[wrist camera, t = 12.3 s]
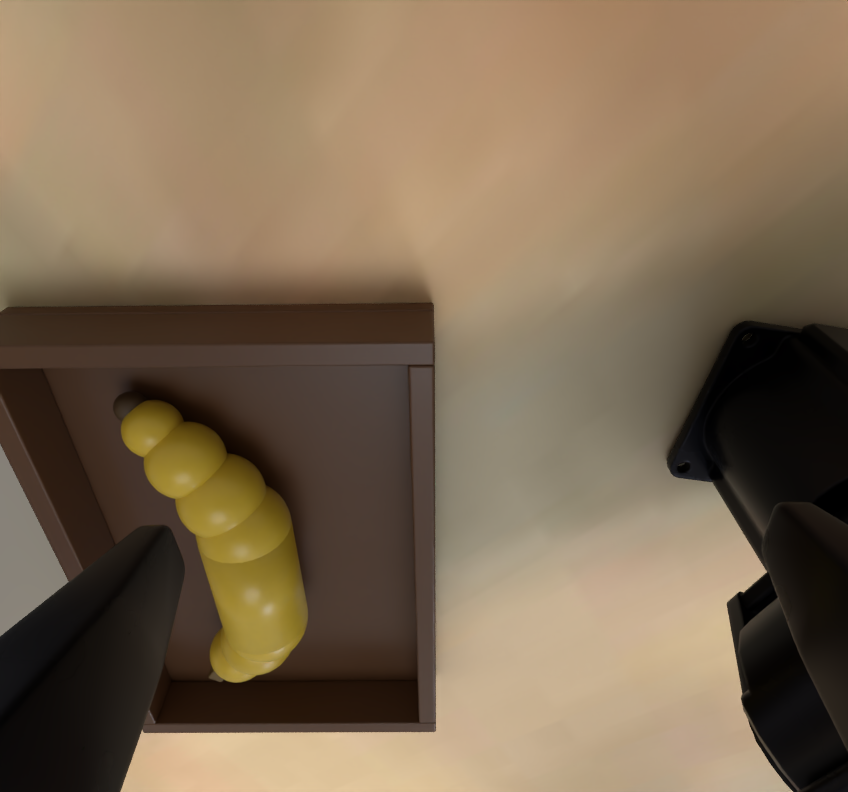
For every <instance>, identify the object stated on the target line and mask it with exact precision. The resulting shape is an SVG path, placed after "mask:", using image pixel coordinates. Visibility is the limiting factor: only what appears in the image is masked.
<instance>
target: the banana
mask: <svg viewBox="0 0 848 792" xmlns="http://www.w3.org/2000/svg"><path fill="white" fill-rule="evenodd" d="M113 412H114V414H115V416H116V417H117V418H118V419H119V420H120V421H122V424H121V436H122V439H123V441H124V443H125V445H126V446H127V447H128V449H129V450H130V451H132V452H133V453H135V454H136V455H138V456H141V457H144V470H145V474H146V476H147V478H148V480H149V482H150V483H151V485H152V486H153V487H154V488H155V489H156V490H157V491H158V492H160V493H161V494H163V495H165V496H167V497H170V498H173V499H175V505H176V509H177V513H178V515H179V518H180V520H181V521H182V523H183V524H184V525H185V526H186V528H187V529H188V530H189V531H191V532H192V533H194V534H195V535H196V542H197V546H198V549H199V552H200V555H201V559H202V562H203V565H204V568H205V572H206V575H207V578H208V581H209V584H210V588H211V591H212V594H213V597H214V601H215V604H216V607H217V610H218V613H219V617H220V620H221V623H222V626H223V627H222V628H221V629H220V630H219V631H218V633H217V634H216V635H215V637H214V639H213V641H212V643H211V647H210V662H211V665H212V666H211V669H210V672H209V675H208V678H210V679H213V680H216V681H218V682H222V681H223V680H226V681H229V682H234V683H238V682H244V681H247V680H250V679H252V678H253V677H255V676H256V675H262V674H265V673H268V672H271V671H272V670H274V669H276V668H277V667H279V666H280V665H281V664H282V663H283V662H284V661H285V660H286V658H287V657H288V655H289V654H290V652H291V651H292V650H293V649H294V648H295V647H296V646H297V644H298V643H299V642H300V640H301V639H302V637H303V635H304V633H305V629H306V626H307V623H308V607H307V602H306V596H305V591H304V585H303V580H302V574H301V569H300V564H299V558H298V553H297V547H296V542H295V536H294V531H293V525H292V520H291V515H290V512H289V509H288V507H287V505H286V503H285V501H284V500H283V498H282V497H281V496H280V495H279V494H278V493H277V492H276V491H275V490H273V489H272V488H270V487H269V486H266V484H265V481H264V479H263V476H262V474H261V473H260V471H259V470H258V469H257V468H256V466H255V465H254V464H253V463H251V462H250V461H249V460H247V459H245V458H243V457H241V456H238V455H235V454H230V453H227V451H226V448H225V445H224V443H223V441H222V439H221V438H220V437H219V435H218V434H217V433H216V432H215V431H213V430H212V429H211V428H209V427H207V426H205V425H203V424H200V423H196V422H188V421H187V422H184V420H183V417H182V415H181V414H180V412H179V411H178V410H177V409H176V408H175V407H174V406H172V405H171V404H169V403H167V402H164V401H160V400H147V399H146V398H145V397H144V396H143V395H142V394H140V393H138V392H134V391H128V392H124V393H122V394H120V395H119V396H118V397H117V398H116V399H115V401H114V403H113Z"/></svg>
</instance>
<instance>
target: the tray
mask: <svg viewBox="0 0 848 792" xmlns="http://www.w3.org/2000/svg"><path fill="white" fill-rule="evenodd" d="M128 391H134V392H138V393H140V394H142V395H143V396H144V397H145V398H146V399H147V400H160V401H164V402H167V403H169V404H171V405H172V406H174V407H175V408H176V409H177V410H178V411H179V412H180V414H181V415H182V417H183V420H184V422H187V421H188V422H196V423H200V424H203V425H205V426H207V427H209V428H211V429H212V430H213V431H215V432H216V433H217V434H218V435H219V437H220V438H221V439H222V441H223V443H224V445H225V448H226V451H227V453H230V454H235V455H238V456H241V457H243V458H245V459H247V460H249V461H250V462H251V463H253V464H254V465H255V466H256V468H257V469H258V470H259V471H260V473H261V474H262V476H263V479H264V481H265V484H266V486H269V487H270V488H272V489H273V490H275V491H276V492H277V493H278V494H279V495H280V496H281V497H282V498H283V500H284V501H285V503H286V505H287V507H288V509H289V512H290V515H291V520H292V525H293V531H294V536H295V542H296V547H297V553H298V558H299V564H300V569H301V574H302V580H303V585H304V591H305V596H306V602H307V607H308V623H307V626H306V629H305V633H304V635H303V637H302V639H301V640H300V642H299V643H298V644H297V646H296V647H295V648H294V649H293V650H292V651H291V652H290V654H289V655H288V657H287V658H286V660H285V661H284V662H283V663H282V664H281V665H280V666H279V667H277V668H276V669H274V670H272V671H271V672H268V673H265V674H262V675H256V676H255V677H253V678H252V679H250V680H247V681H244V682H238V683H234V682H229V681H226V680H223V681H222V682H218V681H216V680H213V679H210V678H208V675H209V672H210V669H211V666H212V665H211V662H210V647H211V643H212V641H213V639H214V637H215V635H216V634H217V633H218V631H219V630H220V629H221V628H222V627H223V626H222V623H221V620H220V617H219V613H218V610H217V607H216V604H215V601H214V597H213V594H212V591H211V588H210V584H209V581H208V578H207V575H206V572H205V568H204V565H203V562H202V559H201V555H200V552H199V549H198V546H197V542H196V535H195V534H194V533H192V532H191V531H189V530H188V529H187V528H186V526H185V525H184V524H183V523H182V521H181V520H180V518H179V515H178V513H177V509H176V505H175V499H173V498H170V497H167V496H165V495H163V494H161V493H160V492H158V491H157V490H156V489H155V488H154V487H153V486H152V485H151V483H150V482H149V480H148V478H147V476H146V474H145V470H144V457H141V456H138V455H136V454H135V453H133V452H132V451H130V450H129V449H128V447H127V446H126V445H125V443H124V441H123V439H122V436H121V424H122V421H120V420H119V419H118V418H117V417H116V416H115V414H114V412H113V403H114V401H115V399H116V398H117V397H118V396H119V395H120V394H122V393H124V392H128ZM0 444H1V446H2V448H3V450H4V452H5V454H6V456H7V458H8V460H9V462H10V464H11V466H12V468H13V470H14V472H15V474H16V476H17V478H18V480H19V482H20V485H21V487H22V488H23V491H24V492H25V494H26V497H27V499H28V500H29V503H30V505H31V507H32V509H33V511H34V513H35V515H36V517H37V519H38V521H39V523H40V525H41V526H42V529H43V531H44V533H45V534H46V537H47V539H48V541H49V543H50V545H51V547H52V549H53V551H54V553H55V555H56V557H57V558H58V561H59V563H60V565H61V567H62V569H63V571H64V573H65V575H66V577H67V579H68V581H71V580H72V579H73V578H75V577H76V576H77V575H78V574H80V573H81V572H82V571H83V570H85V569H86V568H87V567H88V566H90V565H91V564H92V563H93V562H95V561H96V560H97V559H98V558H100V557H101V556H102V555H103V554H105V553H106V552H107V551H109V550H110V549H111V548H112V547H114V546H115V545H116V544H117V543H119V542H120V541H121V540H122V539H124V538H125V537H126V536H127V535H129V534H130V533H131V532H132V531H134V530H135V529H137V528H138V527H140V526H144V525H167V526H168V527H170V528H171V530H172V532H173V534H174V537H175V539H176V542H177V544H178V547H179V549H180V552H181V555H182V557H183V560H184V564H185V577H184V581H183V586H182V590H181V594H180V598H179V603H178V607H177V611H176V615H175V620H174V624H173V628H172V632H171V637H170V641H169V645H168V649H167V654H166V658H165V662H164V665H163V669H162V673H161V676H160V679H159V682H158V685H157V688H156V691H155V694H154V697H153V700H152V703H151V706H150V708H149V711H148V714H147V717H146V720H145V723H144V726H143V728H142V730H143V732H144V733H245V732H435V731H436V648H435V338H434V305H433V303H391V304H292V305H192V306H93V307H8V308H6V309H4V310H3V311H2V312H0Z"/></svg>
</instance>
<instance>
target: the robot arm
mask: <svg viewBox="0 0 848 792" xmlns="http://www.w3.org/2000/svg"><path fill="white" fill-rule="evenodd" d="M749 333H752V336H751V337H750V338H749V339H747V340H746V341H742V339H743V337H744V336H745V335H747V334H749ZM685 462H686V463H685ZM681 463H685V464H684V465H682V466H678V465H679V464H681ZM667 466H668V468H669V470H670V472H671V474H672V475H673V476H675V477H678V478H685V479H692V480H700V481H707V482H713V484H714V485H715V487H716V489H717V490H718V492H719V494H720V495H721V497H722V499H723V500H724V502H725V504H726V505H727V507H728V508H729V510H730V512H731V513H732V515H733V517H734V518H735V520H736V522H737V523H738V525H739V527H740V528H741V530H742V531H743V533H744V535H745V536H746V538H747V540H748V541H749V543H750V545H751V546H752V548H753V550H754V551H755V553H756V555H757V556H758V558H759V559H760V561H761V563H762V564H763V566H764V568H765V569H766V571H767V573H765V574H764V575H763V576H762V577H761V578H760V579H759V580H757V581H756V582H755V583H754V584H753V585H752V586H751V587H749V588H748V589H747V590H746V591H745V592H744V593H743V592H739V593H737V594H736V595H735V596H734V597H733V598H732V599H731V600H729V601H728V602H727V608H728V614H729V620H730V625H731V631H732V637H733V642H734V648H735V654H736V659H737V665H738V671H739V676H740V682H741V688H742V693H743V694H742V697H741V700H742V705H743V710H744V712H745V714H746V716H747V718H748V721H749V724H750V727H751V729H752V731H753V734H754V737H755V739H756V742H757V743H758V745H759V747H760V748H761V749H762V751H763V753H764V754H765V756H766V757H767V759H768V761H769V762H770V764H771V765H772V766H773V768H774V769H775V770H776V772H777V773H778V774H779V776H780V777H781V778H782V780H783V781H784V782H785V783H786V784H787V785H788V787H789V788H790V789H791V790H792V791H793V792H848V329H846V328H840V327H834V326H827V325H821V324H810V325H807V326H804V327H803V329H799V328H793V327H787V326H780V325H774V324H768V323H761V322H755V321H744V322H741V323H739V324H737V325H736V326H735V327H734V328H733V329H732V330H731V332H730V334H729V336H728V338H727V340H726V342H725V344H724V346H723V348H722V350H721V352H720V354H719V356H718V358H717V360H716V362H715V364H714V366H713V368H712V370H711V372H710V374H709V376H708V378H707V380H706V382H705V384H704V387H703V389H702V391H701V393H700V395H699V397H698V399H697V401H696V403H695V405H694V407H693V409H692V411H691V413H690V415H689V417H688V419H687V421H686V423H685V425H684V427H683V429H682V431H681V433H680V435H679V437H678V439H677V441H676V443H675V445H674V447H673V449H672V452H671V454H670V456H669V458H668V460H667ZM184 577H185V564H184V560H183V557H182V555H181V552H180V549H179V547H178V544H177V542H176V539H175V537H174V534H173V532H172V530H171V528H170V527H168V526H167V525H144V526H140V527H138V528H137V529H135V530H134V531H132V532H131V533H130V534H129V535H127V536H126V537H125V538H124V539H122V540H121V541H120V542H119V543H117V544H116V545H115V546H114V547H112V548H111V549H110V550H109V551H107V552H106V553H105V554H103V555H102V556H101V557H100V558H98V559H97V560H96V561H95V562H93V563H92V564H91V565H90V566H88V567H87V568H86V569H85V570H83V571H82V572H81V573H80V574H78V575H77V576H76V577H75V578H73V579H72V580H71V581H69V582H68V583H67V584H66V585H65V586H63V587H62V588H61V589H59V590H58V591H57V592H56V593H54V594H53V595H52V596H51V597H49V598H48V599H47V600H46V601H44V602H43V603H42V604H41V605H39V606H38V607H37V608H36V609H35V610H33V611H32V612H30V613H29V614H28V615H27V616H25V617H24V618H23V619H22V620H20V621H19V622H18V623H17V624H15V625H14V626H13V627H12V628H10V629H9V630H8V631H7V632H5V633H4V634H3V635H2V636H0V792H120V791H121V788H122V785H123V782H124V780H125V777H126V774H127V771H128V768H129V765H130V763H131V760H132V757H133V754H134V751H135V748H136V745H137V743H138V740H139V737H140V734H141V731H142V728H143V726H144V723H145V720H146V717H147V714H148V711H149V708H150V706H151V703H152V700H153V697H154V694H155V691H156V688H157V685H158V682H159V679H160V676H161V673H162V669H163V665H164V662H165V658H166V654H167V649H168V645H169V641H170V637H171V632H172V628H173V624H174V620H175V615H176V611H177V607H178V603H179V598H180V594H181V590H182V586H183V581H184Z"/></svg>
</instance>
